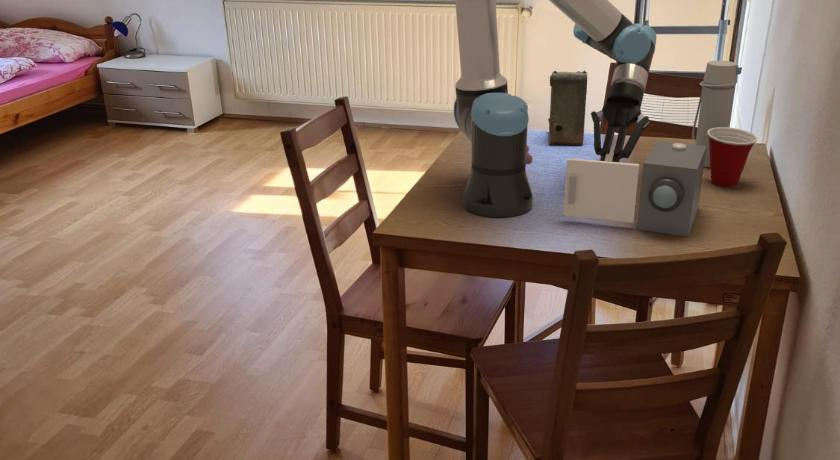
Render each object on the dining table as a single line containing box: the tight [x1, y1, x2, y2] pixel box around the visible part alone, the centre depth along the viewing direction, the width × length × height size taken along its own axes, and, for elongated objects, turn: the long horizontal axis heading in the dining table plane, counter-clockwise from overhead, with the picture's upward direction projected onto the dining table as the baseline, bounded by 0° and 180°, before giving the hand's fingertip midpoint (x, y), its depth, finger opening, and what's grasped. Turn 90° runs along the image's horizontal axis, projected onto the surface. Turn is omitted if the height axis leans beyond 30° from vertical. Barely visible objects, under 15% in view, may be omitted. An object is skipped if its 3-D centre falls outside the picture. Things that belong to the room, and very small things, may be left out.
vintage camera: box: [547, 70, 588, 146], centre depth 212 cm, size 10×16×20 cm, turn 174°
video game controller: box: [526, 145, 533, 164], centre depth 200 cm, size 10×5×7 cm, turn 179°
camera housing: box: [636, 140, 707, 238], centre depth 158 cm, size 18×10×15 cm, turn 155°
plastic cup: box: [707, 126, 758, 188], centre depth 178 cm, size 11×11×12 cm
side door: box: [563, 157, 640, 223], centre depth 156 cm, size 14×2×12 cm, turn 72°
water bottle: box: [691, 60, 738, 169], centre depth 189 cm, size 9×8×25 cm
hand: (603, 183), depth 166 cm, fingers closed
